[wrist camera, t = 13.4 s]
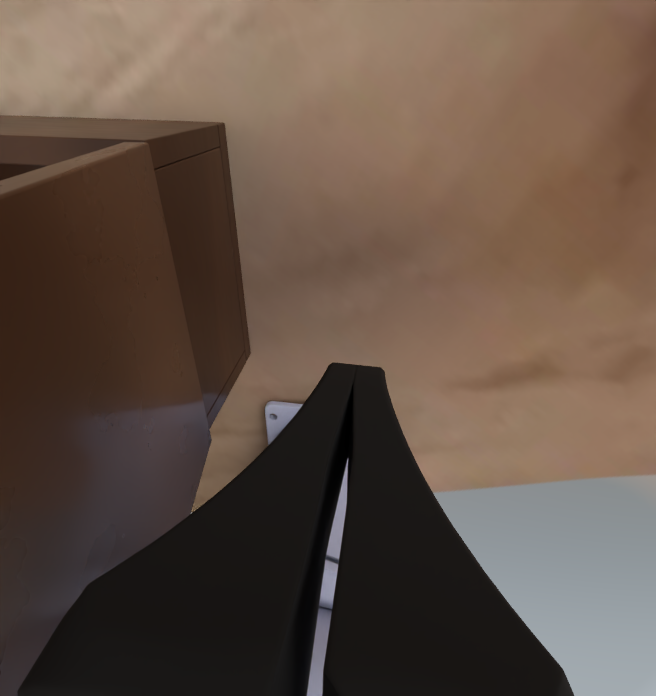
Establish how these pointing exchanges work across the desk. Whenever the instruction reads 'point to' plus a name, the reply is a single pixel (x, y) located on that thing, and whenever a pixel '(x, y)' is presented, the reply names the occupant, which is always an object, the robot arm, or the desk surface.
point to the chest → (167, 221)
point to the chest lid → (87, 388)
